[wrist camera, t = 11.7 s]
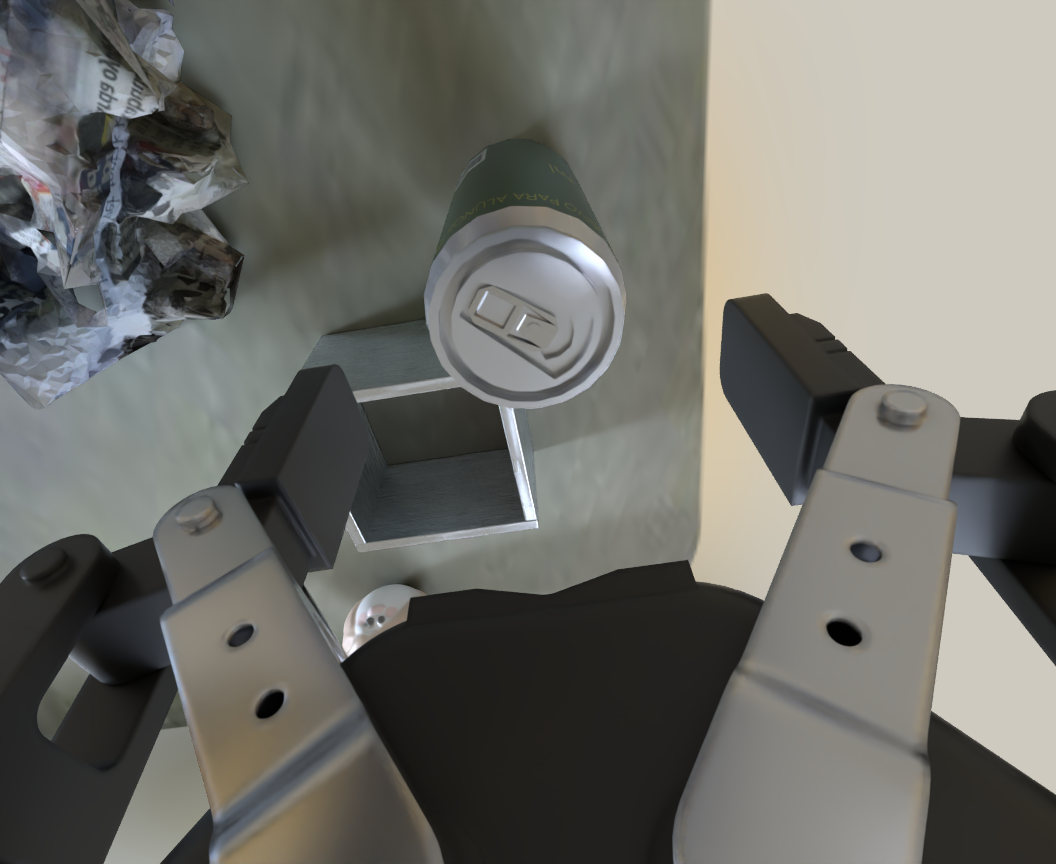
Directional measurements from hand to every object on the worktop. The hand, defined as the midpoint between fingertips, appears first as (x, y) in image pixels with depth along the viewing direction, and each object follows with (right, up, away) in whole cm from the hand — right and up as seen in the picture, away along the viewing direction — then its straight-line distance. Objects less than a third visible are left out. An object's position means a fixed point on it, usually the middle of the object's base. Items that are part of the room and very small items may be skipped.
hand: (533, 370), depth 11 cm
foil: (-17, +9, +11) cm, 22 cm away
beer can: (-1, +9, +12) cm, 15 cm away
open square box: (-5, 0, +17) cm, 18 cm away
